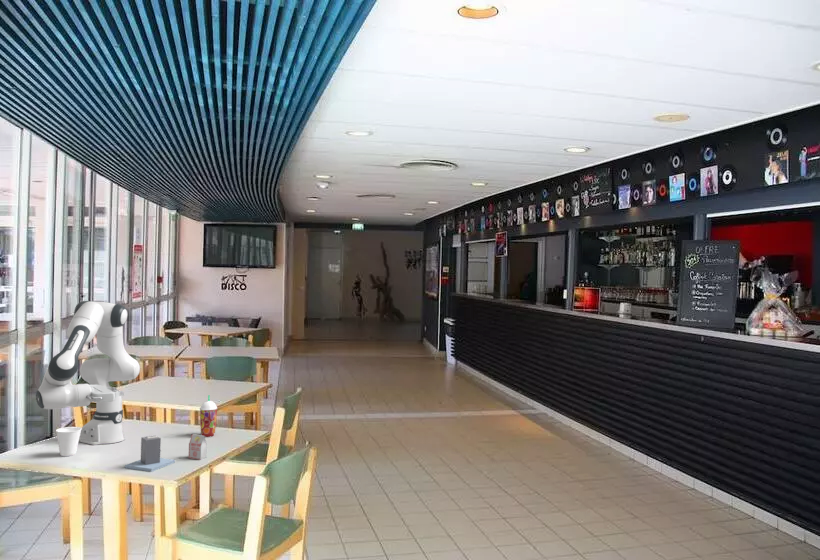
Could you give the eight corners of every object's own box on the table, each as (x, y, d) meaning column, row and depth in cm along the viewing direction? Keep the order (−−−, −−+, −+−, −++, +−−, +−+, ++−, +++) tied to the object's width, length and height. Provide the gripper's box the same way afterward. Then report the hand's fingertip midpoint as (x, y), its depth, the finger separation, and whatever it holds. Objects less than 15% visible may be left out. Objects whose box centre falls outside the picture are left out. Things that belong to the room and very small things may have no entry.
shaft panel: (125, 468, 257) (125, 449, 257) (149, 459, 270) (149, 441, 270) (151, 471, 253) (152, 453, 253) (174, 462, 266) (175, 444, 266)
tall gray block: (145, 464, 258) (146, 439, 258) (140, 461, 262) (141, 436, 262) (159, 462, 262) (160, 437, 262) (154, 459, 266) (155, 434, 266)
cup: (86, 453, 277) (86, 428, 277) (67, 459, 268) (68, 433, 268) (68, 450, 280) (69, 425, 280) (49, 456, 271) (50, 430, 271)
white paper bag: (194, 455, 278) (195, 433, 278) (206, 457, 275) (207, 434, 275) (188, 457, 274) (189, 434, 274) (200, 460, 272) (201, 436, 272)
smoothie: (209, 432, 320) (210, 393, 320) (220, 435, 315) (221, 395, 315) (195, 435, 313) (196, 395, 313) (205, 438, 308) (207, 397, 308)
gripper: (91, 391, 245) (128, 387, 254) (76, 383, 260) (112, 380, 269) (90, 407, 245) (127, 403, 254) (76, 398, 260) (111, 395, 269)
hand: (119, 391), depth 262 cm, fingers open, 8 cm apart
